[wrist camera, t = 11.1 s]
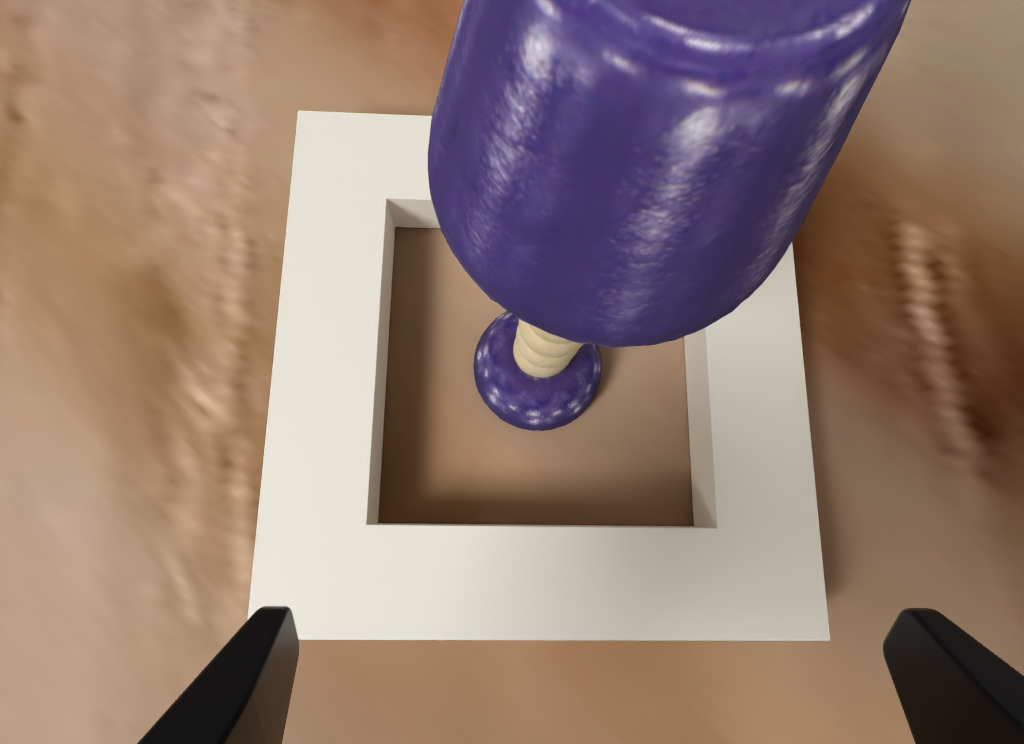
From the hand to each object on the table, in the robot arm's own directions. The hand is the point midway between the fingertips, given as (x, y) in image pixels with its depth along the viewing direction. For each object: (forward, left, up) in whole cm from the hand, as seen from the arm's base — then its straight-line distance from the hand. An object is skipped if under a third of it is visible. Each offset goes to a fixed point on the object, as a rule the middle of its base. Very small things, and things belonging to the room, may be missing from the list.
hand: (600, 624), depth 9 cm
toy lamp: (+5, +4, -10) cm, 12 cm away
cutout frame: (+5, +3, -10) cm, 12 cm away
